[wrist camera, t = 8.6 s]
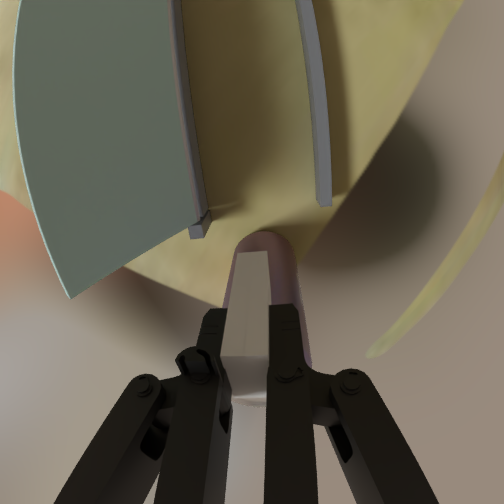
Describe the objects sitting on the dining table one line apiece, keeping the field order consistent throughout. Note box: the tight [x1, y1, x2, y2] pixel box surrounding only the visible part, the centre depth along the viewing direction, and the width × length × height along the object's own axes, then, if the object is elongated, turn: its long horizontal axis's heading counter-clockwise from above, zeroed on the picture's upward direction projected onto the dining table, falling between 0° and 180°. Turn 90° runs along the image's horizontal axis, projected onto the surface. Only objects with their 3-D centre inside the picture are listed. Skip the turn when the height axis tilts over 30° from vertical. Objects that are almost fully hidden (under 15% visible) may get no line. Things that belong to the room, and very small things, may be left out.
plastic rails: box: [170, 0, 332, 239], centre depth 17 cm, size 27×12×4 cm, turn 6°
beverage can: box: [222, 231, 312, 407], centre depth 20 cm, size 6×6×15 cm
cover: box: [12, 0, 200, 299], centre depth 13 cm, size 24×13×1 cm
